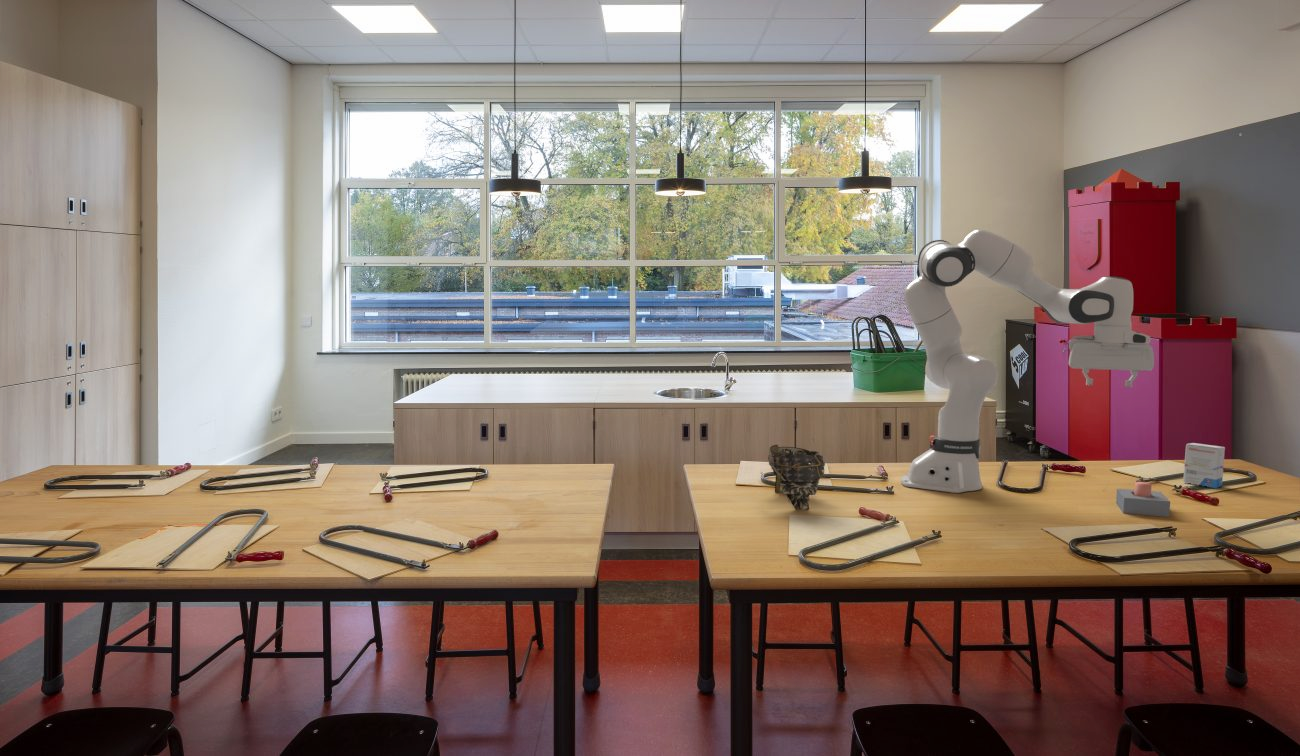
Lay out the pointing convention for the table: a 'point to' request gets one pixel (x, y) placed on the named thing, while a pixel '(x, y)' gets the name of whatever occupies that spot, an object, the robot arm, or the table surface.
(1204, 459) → the ink box
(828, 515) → the table surface
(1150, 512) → the socket
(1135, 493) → the peg
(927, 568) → the table surface
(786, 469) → the checked fabric bag
